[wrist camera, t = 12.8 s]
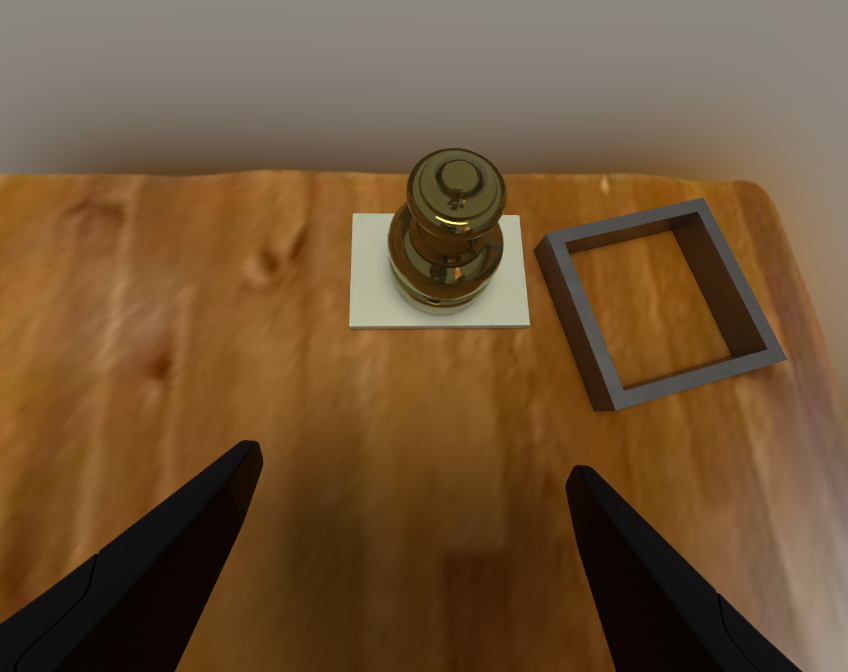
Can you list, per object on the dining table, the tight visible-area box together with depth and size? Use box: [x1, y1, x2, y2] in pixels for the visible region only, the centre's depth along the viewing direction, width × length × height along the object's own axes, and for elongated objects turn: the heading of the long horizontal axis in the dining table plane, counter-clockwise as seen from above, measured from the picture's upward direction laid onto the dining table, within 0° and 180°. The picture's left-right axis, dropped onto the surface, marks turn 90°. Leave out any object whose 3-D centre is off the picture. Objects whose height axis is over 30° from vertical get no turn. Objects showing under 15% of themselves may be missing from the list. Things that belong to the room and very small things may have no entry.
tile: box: [349, 213, 530, 329], centre depth 25 cm, size 13×9×1 cm
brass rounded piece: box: [387, 148, 507, 315], centre depth 20 cm, size 7×7×10 cm
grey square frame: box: [534, 198, 787, 411], centre depth 25 cm, size 13×13×2 cm
